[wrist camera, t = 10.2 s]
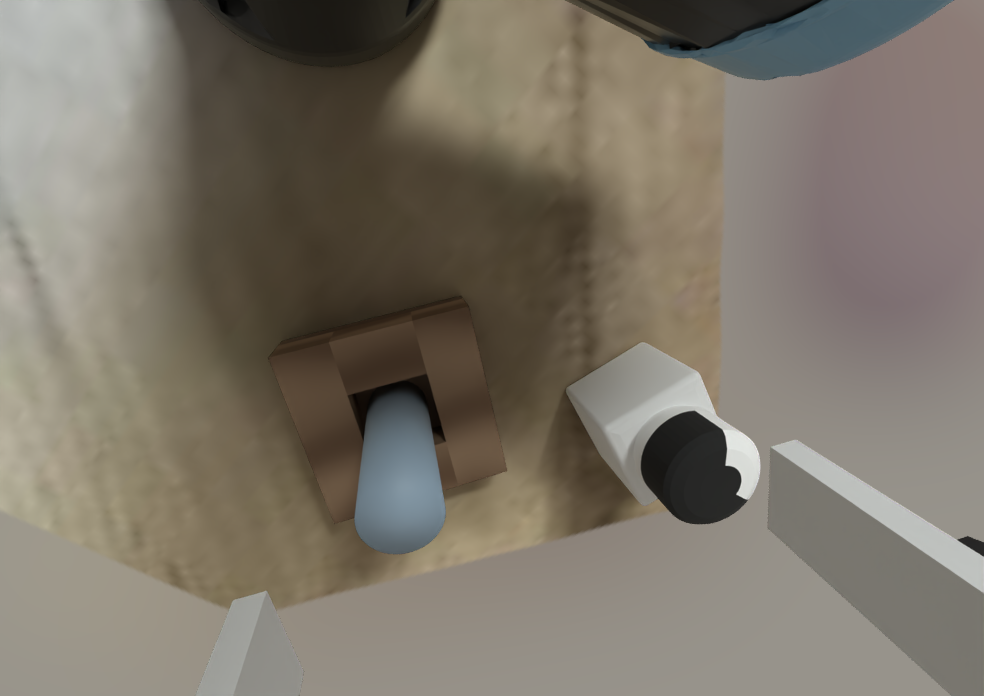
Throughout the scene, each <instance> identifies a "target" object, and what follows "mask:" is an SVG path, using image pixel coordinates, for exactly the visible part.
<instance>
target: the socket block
mask: <svg viewBox="0 0 984 696" xmlns="http://www.w3.org/2000/svg"><path fill="white" fill-rule="evenodd" d="M268 359H269V361H270V364H271V366H272V369H273V371H274V374H275V376H276V379H277V381H278V384H279V386H280V389H281V391H282V394H283V396H284V399H285V402H286V404H287V407H288V409H289V412H290V414H291V417H292V419H293V422H294V424H295V427H296V429H297V432H298V434H299V437H300V439H301V442H302V444H303V447H304V449H305V452H306V454H307V457H308V459H309V462H310V464H311V467H312V469H313V472H314V474H315V477H316V479H317V482H318V484H319V487H320V489H321V492H322V494H323V497H324V499H325V502H326V504H327V507H328V509H329V512H330V514H331V517H332V519H333V522H334V524H335V523H339V522H342V521H345V520H349V519H352V518H355V508H356V500H357V492H358V483H359V475H360V467H361V459H362V450H363V442H364V434H365V425H366V417H367V409H368V402H369V399H370V396H371V394H372V393H373V392H374V390H375V389H376V388H377V387H380V386H384V385H387V384H391V383H395V382H398V381H402V380H405V381H409V382H411V383H413V384H415V385H417V386H418V387H419V388H420V389H421V390H422V391H423V393H424V395H425V397H426V400H427V405H428V411H429V417H430V422H431V428H432V434H433V440H434V445H435V451H436V457H437V463H438V468H439V474H440V480H441V485H442V491H443V490H447V489H450V488H453V487H457V486H460V485H463V484H466V483H470V482H473V481H476V480H479V479H483V478H486V477H489V476H492V475H496V474H499V473H502V472H506V471H507V468H506V463H505V459H504V455H503V451H502V446H501V442H500V438H499V434H498V429H497V425H496V421H495V417H494V412H493V408H492V404H491V400H490V395H489V391H488V387H487V382H486V378H485V374H484V370H483V365H482V361H481V357H480V353H479V348H478V344H477V340H476V336H475V331H474V327H473V323H472V319H471V314H470V310H469V306H468V305H467V304H466V302H465V301H464V299H463V298H462V297H461V296H458V297H454V298H450V299H446V300H442V301H438V302H434V303H430V304H426V305H422V306H418V307H414V308H411V309H407V310H403V311H399V312H395V313H391V314H387V315H383V316H379V317H375V318H371V319H367V320H363V321H359V322H355V323H351V324H348V325H344V326H340V327H336V328H332V329H328V330H324V331H320V332H316V333H312V334H308V335H304V336H300V337H296V338H292V339H289V340H285V341H281V343H280V344H279V345H278V346H277V348H276V349H275V350H274V351H273V353H272V354H271V355H270V356H269V358H268Z"/></svg>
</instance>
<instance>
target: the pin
mask: <svg viewBox="0 0 984 696" xmlns="http://www.w3.org/2000/svg"><path fill="white" fill-rule="evenodd" d="M445 515H446V510H445V503H444V497H443V491H442V485H441V480H440V474H439V468H438V463H437V457H436V451H435V445H434V440H433V434H432V428H431V422H430V417H429V411H428V405H427V400H426V397H425V395H424V393H423V391H422V390H421V389H420V388H419V387H418V386H417V385H415V384H413V383H411V382H409V381H405V380H402V381H398V382H395V383H391V384H387V385H384V386H380V387H377V388H376V389H375V390H374V392H373V393H372V394H371V396H370V399H369V402H368V409H367V417H366V425H365V434H364V442H363V450H362V459H361V467H360V475H359V483H358V492H357V500H356V508H355V520H354V521H355V527H356V530H357V533H358V535H359V536H360V538H361V539H362V540H363V541H364V542H365V543H366V544H367V545H368V546H370V547H371V548H373V549H375V550H377V551H380V552H383V553H388V554H404V553H409V552H413V551H415V550H418V549H420V548H422V547H424V546H425V545H427V544H428V543H430V542H431V541H432V540H433V539H434V538H435V537H436V536H437V535H438V533H439V532H440V530H441V528H442V526H443V524H444V521H445Z"/></svg>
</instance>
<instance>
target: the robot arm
mask: <svg viewBox="0 0 984 696" xmlns="http://www.w3.org/2000/svg"><path fill="white" fill-rule="evenodd" d="M199 1H200V2H201V3H202V4H203V5H204V6H205V7H206V8H207V9H208V10H209V11H210V12H211V13H212V14H213V15H214V16H215V17H216V18H217V19H218V20H219V21H220V22H221V23H223V24H224V25H225V26H226V27H227V28H229V29H230V30H231V31H233V32H234V33H235V34H237V35H238V36H240V37H241V38H243V39H244V40H246V41H247V42H249V43H251V44H252V45H254V46H256V47H258V48H260V49H262V50H264V51H266V52H268V53H270V54H272V55H275V56H277V57H280V58H283V59H286V60H289V61H293V62H297V63H301V64H306V65H313V66H330V67H332V66H345V65H352V64H356V63H360V62H364V61H367V60H370V59H372V58H375V57H377V56H379V55H381V54H383V53H385V52H387V51H389V50H390V49H392V48H393V47H395V46H397V45H398V44H399V43H400V42H402V41H403V40H404V39H405V38H407V37H408V36H409V35H410V34H411V33H412V32H413V31H414V30H415V29H416V27H417V26H418V25H419V24H420V23H421V21H422V20H423V19H424V18H425V16H426V15H427V13H428V12H429V10H430V9H431V7H432V5H433V3H434V1H435V0H199ZM566 1H568V2H570V3H572V4H574V5H576V6H578V7H580V8H582V9H584V10H586V11H588V12H590V13H592V14H594V15H596V16H598V17H600V18H602V19H604V20H606V21H608V22H610V23H612V24H614V25H616V26H618V27H620V28H622V29H624V30H626V31H628V32H630V33H632V34H634V35H636V36H638V37H640V38H641V39H643V40H644V41H645V43H646V44H647V45H648V46H649V48H651V49H653V50H654V51H656V52H659V53H661V54H663V55H666V56H671V57H676V58H692V59H694V60H697V61H699V62H702V63H704V64H707V65H709V66H712V67H714V68H717V69H719V70H721V71H724V72H726V73H729V74H732V75H735V76H737V77H742V78H747V79H755V80H770V79H774V78H777V77H784V76H801V75H804V74H808V73H814V72H818V71H821V70H824V69H827V68H829V67H832V66H835V65H837V64H840V63H843V62H845V61H848V60H851V59H853V58H855V57H857V56H860V55H862V54H864V53H866V52H868V51H870V50H872V49H874V48H876V47H878V46H880V45H882V44H884V43H886V42H888V41H890V40H892V39H893V38H895V37H897V36H899V35H900V34H902V33H904V32H906V31H907V30H909V29H911V28H912V27H914V26H916V25H917V24H919V23H920V22H922V21H924V20H925V19H927V18H928V17H930V16H931V15H933V14H934V13H936V12H937V11H939V10H940V9H942V8H943V7H945V6H946V5H947V4H949V3H951V2H952V1H954V0H566ZM769 473H770V474H769V501H768V529H769V530H770V531H771V532H772V533H773V534H774V535H775V536H777V537H778V538H779V539H780V540H781V541H782V542H783V543H784V544H785V545H786V546H788V547H789V548H790V549H791V550H792V551H793V552H794V553H795V554H796V555H797V556H799V557H800V558H801V559H802V560H803V561H804V562H805V563H806V564H807V565H808V566H810V567H811V568H812V569H813V570H814V571H815V572H816V573H817V574H818V575H819V576H821V577H822V578H823V579H824V580H825V581H826V582H827V583H828V584H829V585H831V587H833V588H834V589H835V590H836V591H837V592H838V593H839V594H840V595H841V596H842V597H844V598H845V599H846V600H847V601H848V602H849V603H850V604H851V605H852V606H853V607H855V608H856V609H857V610H858V611H859V612H860V613H861V614H862V615H863V616H864V617H866V618H867V619H868V620H869V621H870V622H871V623H872V624H873V625H874V626H875V627H877V628H878V629H879V630H880V631H881V632H882V633H883V634H884V635H885V636H886V637H888V638H889V639H890V640H891V641H892V642H893V643H894V644H895V645H896V646H897V647H899V648H900V649H901V650H902V651H903V652H904V653H905V654H906V655H907V656H908V657H909V658H911V659H912V660H913V661H914V662H915V663H916V664H917V665H918V666H920V667H921V668H922V669H923V670H924V671H925V672H926V673H927V674H928V675H929V676H930V677H931V678H933V679H934V680H935V681H936V682H937V683H938V684H939V685H940V686H941V687H942V688H944V689H945V690H946V691H947V692H948V693H949V694H950V695H951V696H984V542H981V541H979V540H976V539H973V538H971V537H968V536H967V537H964V538H961V539H958V540H956V539H954V538H953V537H951V536H950V535H948V534H946V533H945V532H943V531H942V530H940V529H938V528H937V527H935V526H934V525H932V524H930V523H929V522H927V521H926V520H924V519H922V518H921V517H919V516H918V515H916V514H914V513H913V512H911V511H909V510H907V509H906V508H905V507H903V506H901V505H900V504H898V503H897V502H895V501H893V500H892V499H890V498H889V497H887V496H885V495H884V494H882V493H881V492H879V491H877V490H875V489H874V488H873V487H871V486H869V485H868V484H866V483H865V482H863V481H861V480H860V479H858V478H857V477H855V476H853V475H852V474H850V473H849V472H847V471H845V470H844V469H842V468H841V467H839V466H837V465H836V464H834V463H833V462H831V461H829V460H828V459H826V458H824V457H823V456H821V455H820V454H818V453H816V452H815V451H813V450H812V449H810V448H809V447H807V446H805V445H804V444H802V443H801V442H799V441H797V440H793V441H789V442H786V443H782V444H779V445H775V446H772V447H770V472H769ZM303 675H304V670H303V668H302V666H301V664H300V661H299V659H298V657H297V655H296V653H295V651H294V649H293V646H292V644H291V642H290V640H289V638H288V636H287V633H286V631H285V629H284V627H283V625H282V623H281V620H280V618H279V616H278V614H277V612H276V609H275V607H274V605H273V603H272V601H271V599H270V596H269V594H268V592H267V591H264V592H260V593H257V594H253V595H250V596H246V597H243V598H239V599H236V600H233V601H232V604H231V606H230V609H229V611H228V614H227V617H226V619H225V622H224V624H223V627H222V629H221V632H220V634H219V637H218V639H217V642H216V645H215V647H214V649H213V652H212V655H211V657H210V659H209V662H208V664H207V667H206V670H205V672H204V675H203V677H202V680H201V682H200V685H199V687H198V690H197V692H196V695H195V696H300V690H301V685H302V680H303Z"/></svg>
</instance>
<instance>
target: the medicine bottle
mask: <svg viewBox="0 0 984 696" xmlns="http://www.w3.org/2000/svg"><path fill="white" fill-rule="evenodd" d="M566 393H567V395H568V397H569V399H570V401H571V403H572V404H573V406H574V408H575V410H576V412H577V414H578V415H579V417H580V419H581V421H582V423H583V425H584V426H585V428H586V430H587V432H588V434H589V436H590V437H591V439H592V441H593V443H594V445H595V447H596V448H597V450H598V452H599V454H600V456H601V457H602V458H603V459H604V460H605V462H606V463H607V464H608V465H609V466H610V468H611V469H612V470H613V471H614V473H615V474H616V475H617V476H618V477H619V479H620V480H621V481H622V482H623V483H624V485H625V486H626V487H627V488H628V489H629V491H630V492H631V493H632V494H633V496H634V497H635V498H636V499H637V500H638V502H639V503H640V504H641V505H643V506H646V505H648V504H650V503H652V502H653V501H655V500H657V499H659V500H660V501H661V502H662V503H663V504H664V506H665V507H666V508H667V509H668V510H669V511H670V512H671V513H672V514H673V515H674V516H675V517H676V518H678V519H679V520H681V521H684V522H686V523H691V524H710V523H714V522H718V521H721V520H723V519H725V518H727V517H729V516H730V515H732V514H734V513H735V512H736V511H738V510H739V509H740V508H741V507H742V506H743V505H744V504H745V503H746V502H747V501H748V499H749V498H750V496H751V495H752V494H753V491H754V490H755V488H756V485H757V483H758V480H759V475H760V458H759V453H758V450H757V448H756V446H755V444H754V443H753V442H752V440H751V439H749V438H748V437H747V436H746V435H745V434H743V433H741V432H740V431H738V430H737V429H735V428H734V427H732V426H731V425H729V424H728V423H726V422H725V421H723V420H722V419H720V418H719V417H717V415H716V413H715V410H714V408H713V405H712V403H711V400H710V398H709V395H708V393H707V391H706V388H705V386H704V383H703V381H702V378H701V376H700V374H699V373H698V372H697V371H696V370H694V369H692V368H690V367H688V366H687V365H685V364H683V363H681V362H679V361H678V360H676V359H674V358H672V357H670V356H669V355H667V354H665V353H663V352H661V351H660V350H658V349H656V348H654V347H652V346H650V345H649V344H647V343H644V342H641V343H639V344H637V345H636V346H634V347H632V348H631V349H629V350H628V351H626V352H624V353H623V354H621V355H619V356H618V357H616V358H614V359H613V360H611V361H609V362H608V363H606V364H604V365H603V366H601V367H600V368H598V369H596V370H595V371H593V372H591V373H590V374H588V375H586V376H585V377H583V378H581V379H580V380H578V381H577V382H575V383H573V384H572V385H570V386H568V387H567V388H566Z"/></svg>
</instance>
